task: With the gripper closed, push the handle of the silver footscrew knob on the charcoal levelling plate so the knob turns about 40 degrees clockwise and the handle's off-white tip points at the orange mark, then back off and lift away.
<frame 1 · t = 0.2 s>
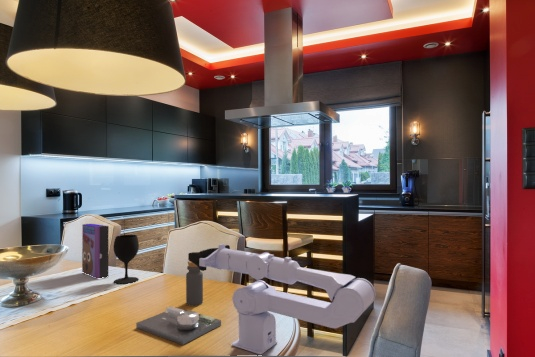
hand: (198, 254, 100), 22 cm above the table, tool horizontal, fingers open, 7 cm apart
cereal box: (95, 275, 160), on the table
bottle: (194, 303, 120), on the table
footscrew knob: (180, 316, 98), point 4 cm above the table, hinge at 0.0°
wine glass: (126, 281, 150), on the table
levelling plate: (178, 326, 100), on the table
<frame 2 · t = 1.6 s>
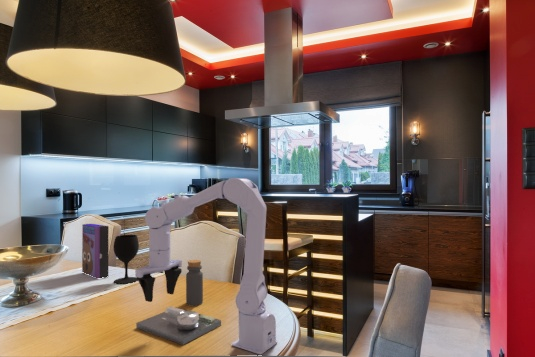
hand: (159, 297, 95), 10 cm above the table, tool pointing down, fingers open, 7 cm apart
nothing on the table moved.
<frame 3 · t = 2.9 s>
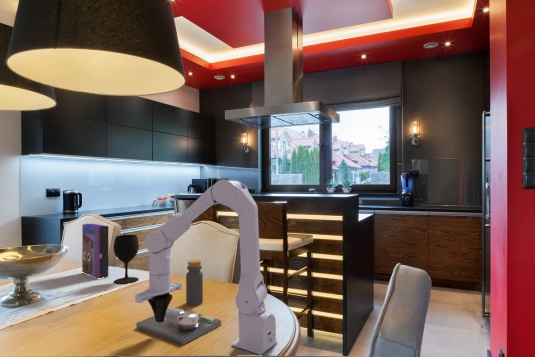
hand: (159, 321, 95), 4 cm above the table, tool pointing down, fingers closed
nothing on the table moved.
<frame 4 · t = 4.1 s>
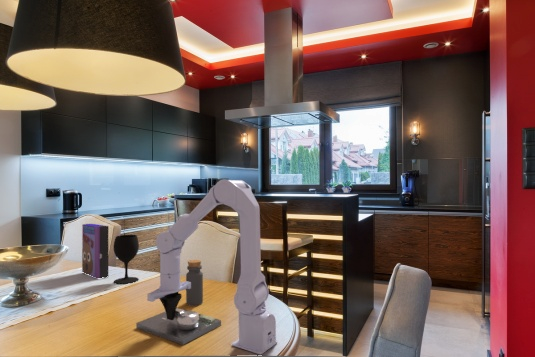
hand: (170, 319, 98), 3 cm above the table, tool pointing down, fingers closed, pressing on footscrew knob
footscrew knob: (180, 316, 98), point 4 cm above the table, hinge at -0.1°, touching gripper
everything else where it was.
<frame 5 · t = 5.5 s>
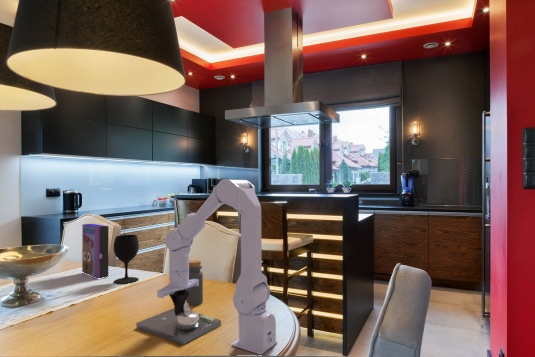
hand: (179, 315, 101), 3 cm above the table, tool pointing down, fingers closed, pressing on footscrew knob
footscrew knob: (187, 315, 100), point 4 cm above the table, hinge at -38.1°, touching gripper
everything else where it was.
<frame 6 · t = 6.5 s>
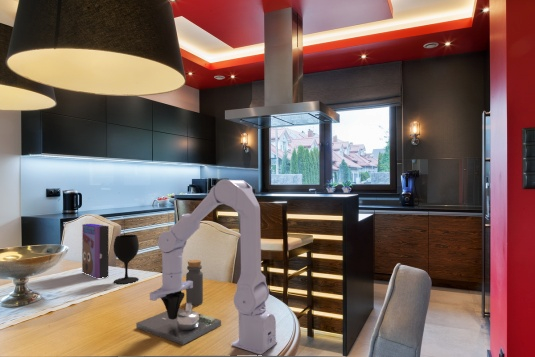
hand: (172, 318, 99), 3 cm above the table, tool pointing down, fingers closed
footscrew knob: (188, 314, 100), point 4 cm above the table, hinge at -44.6°
everything else where it was.
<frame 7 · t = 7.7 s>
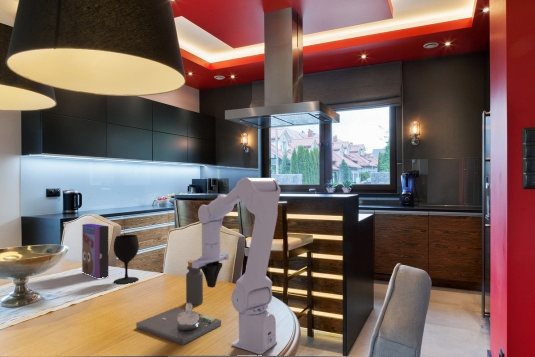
hand: (211, 286, 105), 10 cm above the table, tool pointing down, fingers closed
nothing on the table moved.
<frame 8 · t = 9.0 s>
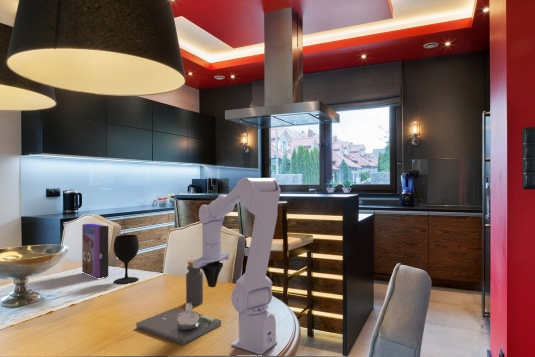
hand: (212, 286, 105), 10 cm above the table, tool pointing down, fingers closed
nothing on the table moved.
at the end: footscrew knob at -45° (first picture: +0°); the gripper is holding nothing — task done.
